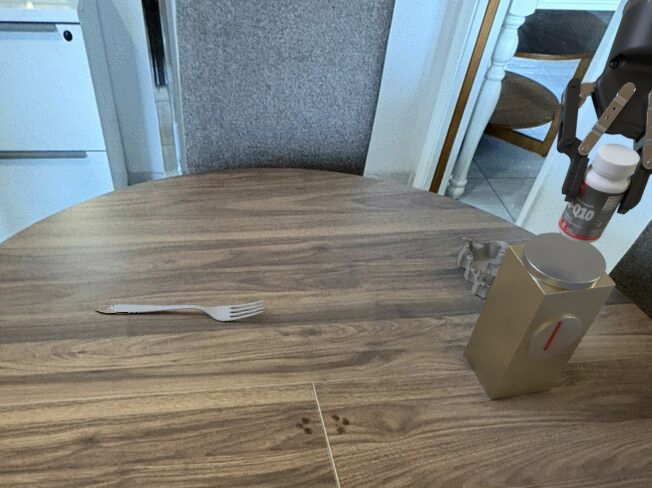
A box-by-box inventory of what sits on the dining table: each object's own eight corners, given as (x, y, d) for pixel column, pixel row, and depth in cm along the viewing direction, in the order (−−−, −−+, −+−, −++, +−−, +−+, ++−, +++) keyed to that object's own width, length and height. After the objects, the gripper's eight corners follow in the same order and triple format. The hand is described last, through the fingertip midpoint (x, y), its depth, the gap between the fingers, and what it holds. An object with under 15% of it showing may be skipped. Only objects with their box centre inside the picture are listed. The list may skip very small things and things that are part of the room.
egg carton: (451, 256, 98) (459, 233, 95) (496, 254, 99) (505, 231, 96) (472, 300, 93) (481, 277, 89) (519, 298, 93) (530, 275, 90)
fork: (96, 301, 88) (93, 291, 87) (263, 308, 89) (264, 298, 88) (92, 316, 87) (90, 306, 85) (263, 323, 88) (264, 313, 86)
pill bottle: (547, 224, 68) (583, 146, 61) (579, 214, 69) (618, 136, 62) (577, 249, 65) (618, 171, 58) (609, 238, 67) (653, 160, 60)
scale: (520, 343, 88) (580, 228, 73) (553, 392, 83) (624, 279, 68) (462, 352, 86) (510, 236, 71) (491, 402, 82) (550, 289, 66)
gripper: (601, -20, 56) (534, 178, 60) (766, 9, 54) (685, 212, 58) (577, 26, 63) (519, 201, 67) (721, 53, 61) (653, 231, 65)
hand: (596, 205), depth 63 cm, fingers closed on pill bottle, 4 cm apart
